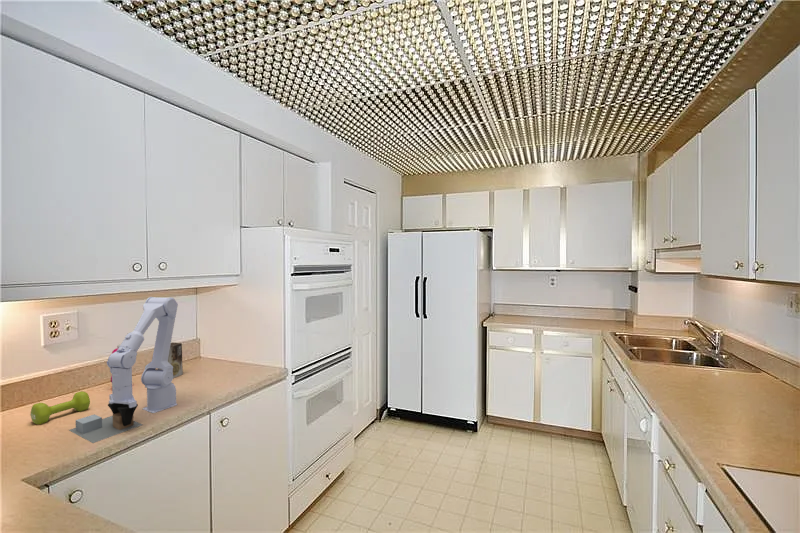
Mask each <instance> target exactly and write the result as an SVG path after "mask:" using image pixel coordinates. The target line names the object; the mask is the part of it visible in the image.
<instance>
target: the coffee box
mask: <svg viewBox="0 0 800 533" xmlns="http://www.w3.org/2000/svg"><path fill="white" fill-rule="evenodd" d="M168 362H169V363H170V364H171V365H172V366H173V379H174V378H177V377H180V376H182V375H184V373H183V372H184V371H183V366H184V365H183V344H182V343H181V342H172V341H171V345H170V350H169V356H168ZM157 369H160V368H157ZM160 370H162V369H160Z"/></svg>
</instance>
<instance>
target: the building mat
mask: <svg viewBox="0 0 800 533" xmlns="http://www.w3.org/2000/svg"><path fill="white" fill-rule="evenodd" d="M141 426H144V424H142V423H140V422H137V421H136V420H134V425H132V426H129V427H127V428H124V429H121V430H118V429H116V428H114V427H113V415H110V416H107V417H105V418H102V428H99V429H96V430H93V431H90V432H87V433H84V434H82V433H80V432H79V431H77V430H76V427H74V428H71V429H68V431H69V432H71V433H73V434H74V435H77V436H79V437H81V438H82V439H85V441H88V442H89V443H92V444H95V443H98V442H102V441H103V440H105V439H109V438H112V437H113V436H114V437H115V436H116V435H117V436H118V435H119V434H122V433H125V432H127V431H130V430H133V429H135V428H138V427H141Z"/></svg>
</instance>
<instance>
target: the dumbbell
mask: <svg viewBox="0 0 800 533" xmlns="http://www.w3.org/2000/svg"><path fill="white" fill-rule="evenodd" d="M90 405H91V399H90V396H89V393H88V392H86V391H83V390H82V391H78V392H75V393H74V395H73V397H72V399H71V400H69V401H65V402H61V403H57V404H55V405H52V406H49V405H48V404H47V403H44V402H37V403H33V404H32V406H31V409H30V414H29V415H30V418H31V421H32V423H33V424H35V425H42V424H45V423H47V422H48V421H49V419H50V417H51V416H52V415H54V414H58V413H61V412H64V411H68V410H71V409H74V411H77V412H80V413H81V412H84V411H87V410H88V409H89V408H90Z"/></svg>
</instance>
